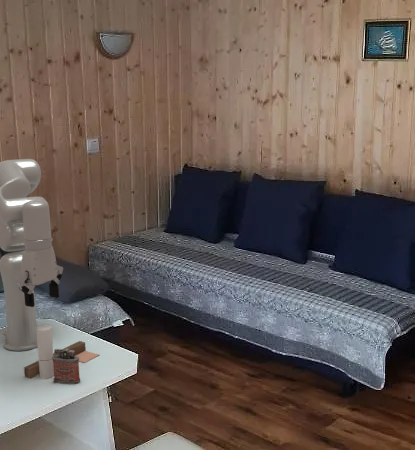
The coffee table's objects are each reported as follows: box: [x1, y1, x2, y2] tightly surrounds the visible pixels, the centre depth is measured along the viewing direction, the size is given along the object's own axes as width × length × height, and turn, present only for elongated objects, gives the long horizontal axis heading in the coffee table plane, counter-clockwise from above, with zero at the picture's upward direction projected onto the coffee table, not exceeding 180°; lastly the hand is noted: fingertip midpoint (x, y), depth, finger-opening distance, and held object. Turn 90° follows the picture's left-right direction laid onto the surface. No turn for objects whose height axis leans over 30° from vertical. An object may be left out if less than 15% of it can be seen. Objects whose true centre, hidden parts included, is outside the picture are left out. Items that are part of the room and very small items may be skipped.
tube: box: [36, 324, 54, 380], centre depth 200 cm, size 4×4×15 cm
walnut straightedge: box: [23, 340, 87, 379], centre depth 210 cm, size 2×24×3 cm, turn 148°
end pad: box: [76, 350, 100, 364], centre depth 215 cm, size 6×7×1 cm
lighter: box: [52, 347, 81, 385], centre depth 197 cm, size 8×3×10 cm, turn 78°
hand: (42, 301), depth 197 cm, fingers open, 9 cm apart
